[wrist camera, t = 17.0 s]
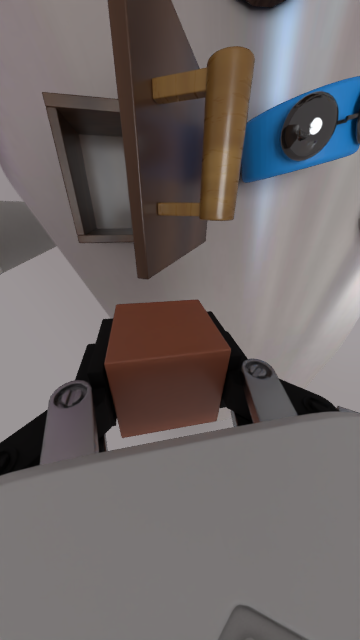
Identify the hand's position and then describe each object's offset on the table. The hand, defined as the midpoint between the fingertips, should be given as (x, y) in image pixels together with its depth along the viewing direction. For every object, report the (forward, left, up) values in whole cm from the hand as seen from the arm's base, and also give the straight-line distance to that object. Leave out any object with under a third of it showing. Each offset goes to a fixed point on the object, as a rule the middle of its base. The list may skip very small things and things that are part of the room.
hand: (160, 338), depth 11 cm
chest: (0, +9, -27) cm, 28 cm away
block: (0, 0, 0) cm, 0 cm away
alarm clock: (+20, +14, -27) cm, 36 cm away
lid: (+3, +9, -11) cm, 14 cm away
